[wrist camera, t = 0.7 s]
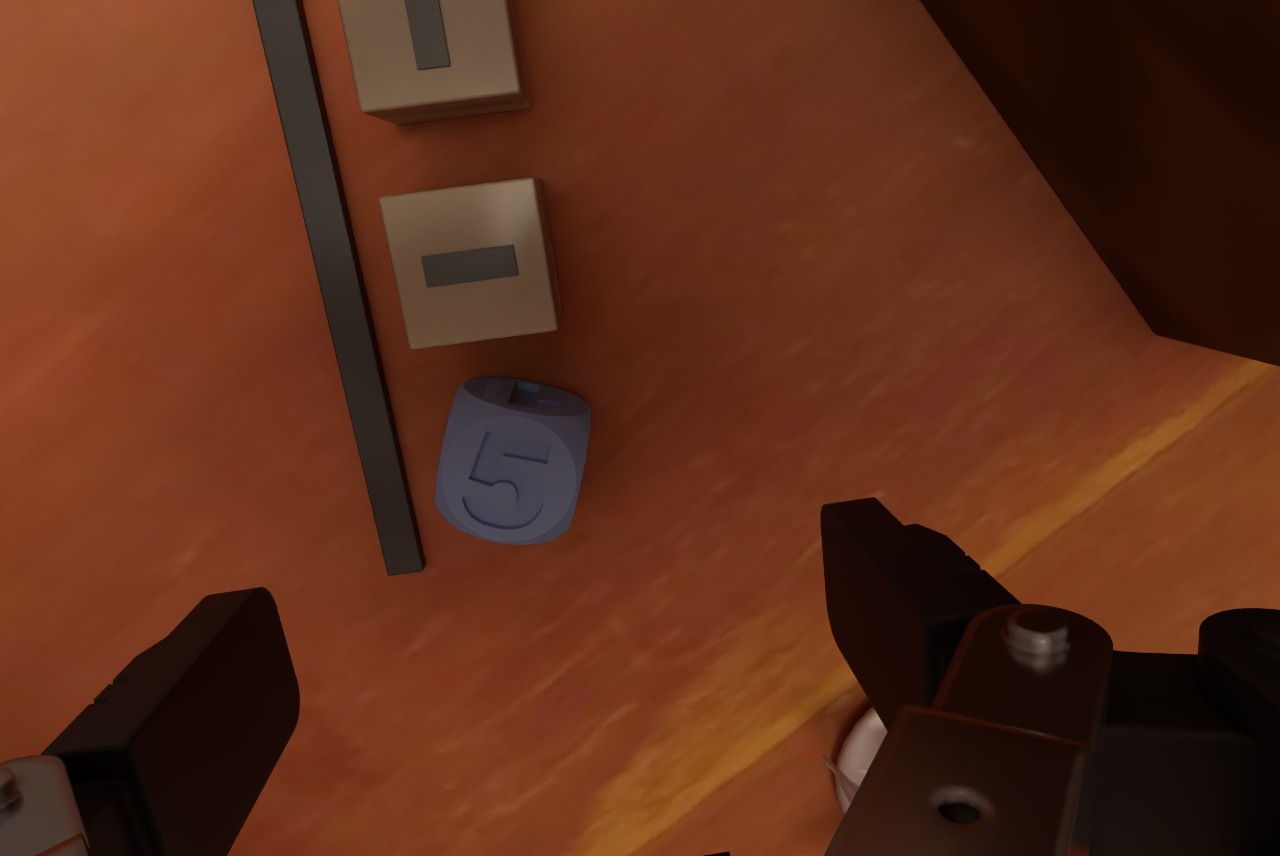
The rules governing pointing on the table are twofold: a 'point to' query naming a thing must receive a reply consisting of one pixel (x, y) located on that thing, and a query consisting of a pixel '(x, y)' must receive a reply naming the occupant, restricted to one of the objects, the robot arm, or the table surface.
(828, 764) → the figurine
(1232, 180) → the dark brown block
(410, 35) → the beige cubes with bar
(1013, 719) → the robot arm
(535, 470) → the decorative dice
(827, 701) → the table surface
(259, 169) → the table surface
